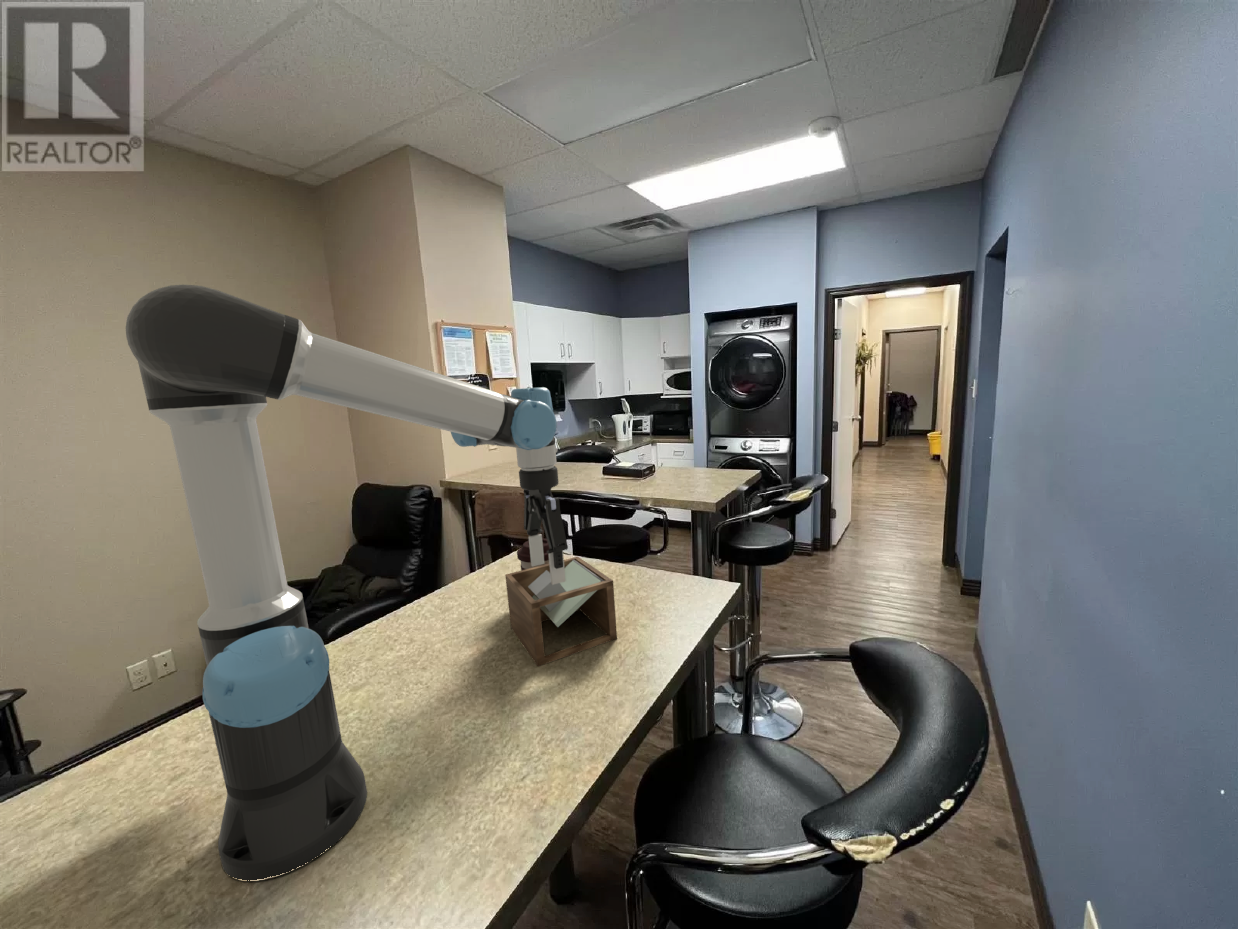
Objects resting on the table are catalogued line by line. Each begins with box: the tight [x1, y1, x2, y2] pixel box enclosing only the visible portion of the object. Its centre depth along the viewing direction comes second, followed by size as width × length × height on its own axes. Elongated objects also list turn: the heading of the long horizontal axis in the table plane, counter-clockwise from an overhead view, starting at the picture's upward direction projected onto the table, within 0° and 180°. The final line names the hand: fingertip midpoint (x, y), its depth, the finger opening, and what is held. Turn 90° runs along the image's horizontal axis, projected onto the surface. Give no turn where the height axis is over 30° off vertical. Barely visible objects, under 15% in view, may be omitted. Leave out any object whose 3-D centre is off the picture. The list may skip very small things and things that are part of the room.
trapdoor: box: [532, 560, 604, 628], centre depth 100 cm, size 12×14×1 cm
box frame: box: [504, 556, 618, 667], centre depth 100 cm, size 17×17×12 cm
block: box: [528, 570, 566, 612], centre depth 98 cm, size 5×5×5 cm
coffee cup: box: [516, 537, 550, 571], centre depth 115 cm, size 10×10×15 cm
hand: (547, 573), depth 98 cm, fingers open, 11 cm apart
